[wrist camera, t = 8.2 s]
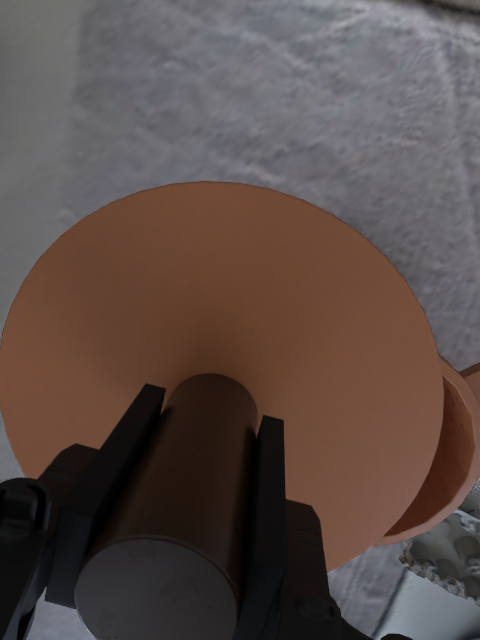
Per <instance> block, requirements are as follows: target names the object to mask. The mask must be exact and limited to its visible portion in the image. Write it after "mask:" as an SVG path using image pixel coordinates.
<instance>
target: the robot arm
mask: <svg viewBox="0 0 480 640" xmlns="http://www.w3.org/2000/svg"><path fill="white" fill-rule="evenodd" d="M165 392H166V388H163V387H159V386H155V385H152V384H148V383H146V384H145V385H144V386H143V388H142V389H141V391H140V392H139V394H138V395H137V396H136V398H135V399H134V401H133V402H132V404H131V405H130V406H129V408H128V409H127V411H126V412H125V414H124V415H123V416H122V418H121V419H120V421H119V422H118V424H117V425H116V426H115V428H114V429H113V431H112V432H111V434H110V435H109V436H108V438H107V439H106V441H105V442H104V444H103V445H102V446H101V448H100V449H96V448H92V447H88V446H85V445H81V444H77V443H75V444H73V445H71V446H69V447H67V448H66V449H64V450H62V451H60V453H59V454H58V455H57V456H56V457H55V458H54V460H53V461H52V462H51V464H49V466H48V467H47V468H46V469H45V470H44V472H43V474H41V475H40V476H39V477H38V479H33V478H14V479H10V480H6V481H4V482H2V483H0V640H26V639H27V636H28V633H29V630H30V628H31V625H32V622H33V619H34V614H35V607H36V603H37V601H38V599H39V598H40V596H41V594H42V593H43V591H44V589H45V588H46V586H47V588H46V594H45V601H47V602H51V603H54V604H58V605H62V606H65V607H69V608H73V609H76V605H75V600H74V586H75V579H76V576H77V572H78V570H79V568H80V566H81V564H82V562H83V560H84V558H85V556H86V554H87V553H88V551H89V549H90V547H91V545H92V543H93V541H94V539H95V538H96V536H97V534H98V532H99V530H100V528H101V526H102V524H103V522H104V521H105V519H106V517H107V515H108V513H109V511H110V509H111V507H112V506H113V504H114V502H115V500H116V498H117V496H118V494H119V492H120V490H121V489H122V487H123V485H124V483H125V481H126V479H127V477H128V475H129V473H130V472H131V470H132V468H133V466H134V464H135V462H136V460H137V458H138V457H139V455H140V453H141V451H142V449H143V447H144V445H145V443H146V441H147V440H148V438H149V436H150V434H151V432H152V430H153V428H154V426H155V424H156V423H157V421H158V419H159V417H160V414H161V410H162V405H163V401H164V396H165ZM231 640H373V639H372V638H370V637H368V636H367V635H365V634H363V633H361V632H360V631H358V630H357V629H355V628H354V627H352V626H351V625H350V624H348V623H347V622H346V621H345V620H344V619H343V618H342V617H341V611H340V609H339V607H338V605H337V603H336V602H335V600H334V599H333V598H332V597H331V596H330V593H329V585H328V577H327V569H326V562H325V554H324V549H323V538H322V530H321V523H320V519H319V517H318V515H317V514H316V512H315V510H314V509H313V507H312V506H311V505H308V504H304V503H300V502H297V501H293V500H289V499H286V489H285V447H284V420H282V419H278V418H275V417H271V416H267V415H263V417H262V421H261V424H260V427H259V431H258V434H257V437H256V446H255V457H254V468H253V480H252V491H251V502H250V514H249V525H248V536H247V547H246V559H245V570H244V581H243V592H242V605H241V616H240V621H239V625H238V628H237V630H236V633H235V635H234V636H233V638H232V639H231ZM381 640H413V639H411V638H409V637H406V636H404V635H401V634H387V635H386V636H384V637H382V638H381Z"/></svg>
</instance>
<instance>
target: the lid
mask: <svg viewBox="0 0 480 640" xmlns="http://www.w3.org/2000/svg"><path fill="white" fill-rule="evenodd" d="M146 383H148V384H152V385H155V386H159V387H163V388H166V392H165V396H164V401H163V405H162V410H161V414H160V417H159V419H158V421H157V423H156V424H155V426H154V428H153V430H152V432H151V434H150V436H149V438H148V440H147V441H146V443H145V445H144V447H143V449H142V451H141V453H140V455H139V457H138V458H137V460H136V462H135V464H134V466H133V468H132V470H131V472H130V473H129V475H128V477H127V479H126V481H125V483H124V485H123V487H122V489H121V490H120V492H119V494H118V496H117V498H116V500H115V502H114V504H113V506H112V507H111V509H110V511H109V513H108V515H107V517H106V519H105V521H104V522H103V524H102V526H101V528H100V530H99V532H98V534H97V536H96V538H95V539H94V541H93V543H92V545H91V547H90V549H89V551H88V553H87V554H86V556H85V558H84V560H83V562H82V564H81V566H80V568H79V570H78V572H77V576H76V579H75V586H74V600H75V605H76V610H77V612H78V615H79V617H80V619H81V621H82V623H83V625H84V626H85V628H86V629H87V631H88V632H89V633H90V635H91V636H92V637H93V638H94V639H95V640H231V639H232V638H233V636H234V635H235V633H236V630H237V628H238V625H239V621H240V616H241V605H242V592H243V581H244V570H245V559H246V547H247V536H248V525H249V514H250V502H251V491H252V480H253V468H254V457H255V446H256V437H257V434H258V431H259V427H260V424H261V421H262V417H263V415H267V416H271V417H275V418H278V419H282V420H284V447H285V489H286V499H289V500H293V501H297V502H300V503H304V504H308V505H311V506H312V507H313V509H314V510H315V512H316V514H317V515H318V517H319V519H320V523H321V530H322V538H323V549H324V554H325V562H326V569H327V572H329V571H331V570H333V569H335V568H337V567H340V566H342V565H343V564H345V563H347V562H348V561H350V560H351V559H353V558H355V557H356V556H358V555H359V554H361V553H363V552H364V551H365V550H366V549H368V548H369V547H370V546H371V545H373V544H374V543H375V542H376V541H378V540H379V539H380V538H381V537H382V536H384V535H385V533H386V532H387V531H388V530H389V529H390V528H391V527H392V526H393V525H394V524H395V523H396V522H397V521H398V520H399V519H400V518H401V516H402V515H403V514H404V512H405V511H406V509H407V508H408V507H409V505H410V504H411V503H412V501H413V500H414V498H415V497H416V495H417V494H418V492H419V490H420V488H421V486H422V484H423V482H424V480H425V478H426V476H427V475H428V473H429V470H430V467H431V464H432V461H433V459H434V456H435V453H436V450H437V447H438V442H439V437H440V432H441V427H442V422H443V405H444V387H443V377H442V367H441V361H440V357H439V353H438V350H437V346H436V342H435V338H434V335H433V332H432V330H431V327H430V325H429V323H428V320H427V318H426V316H425V313H424V311H423V308H422V306H421V305H420V303H419V302H418V300H417V298H416V297H415V295H414V293H413V292H412V290H411V288H410V287H409V285H408V283H407V282H406V280H405V279H404V278H403V277H402V275H401V274H400V273H399V272H398V271H397V269H396V268H395V267H394V266H393V264H392V263H391V262H390V261H389V260H388V258H387V257H386V256H385V255H384V254H383V253H382V252H381V251H380V250H378V249H377V248H376V247H375V246H374V245H373V244H372V243H371V242H370V241H369V240H367V239H366V238H365V237H364V236H363V235H362V234H361V233H359V232H358V231H356V230H355V229H353V228H352V227H351V226H349V225H348V224H346V223H345V222H343V221H342V220H340V219H339V218H337V217H336V216H334V215H333V214H331V213H329V212H327V211H325V210H323V209H321V208H319V207H317V206H315V205H313V204H311V203H309V202H307V201H305V200H302V199H299V198H296V197H293V196H290V195H287V194H285V193H282V192H279V191H276V190H273V189H268V188H263V187H258V186H253V185H247V184H242V183H234V182H214V181H199V182H187V183H176V184H169V185H165V186H160V187H156V188H152V189H147V190H143V191H139V192H137V193H134V194H132V195H129V196H126V197H124V198H121V199H119V200H116V201H113V202H111V203H109V204H107V205H105V206H104V207H102V208H100V209H98V210H97V211H95V212H93V213H91V214H90V215H88V216H86V217H84V218H83V219H82V220H80V221H79V222H78V223H76V224H75V225H74V226H73V227H71V228H70V229H69V230H67V231H66V232H65V233H64V234H62V235H61V236H60V237H59V238H58V239H57V240H56V241H55V242H54V243H53V244H52V245H51V246H50V247H49V248H48V249H47V250H46V252H45V253H44V254H43V255H42V256H41V257H40V258H39V260H38V261H37V262H36V264H35V265H34V267H33V268H32V269H31V271H30V272H29V274H28V275H27V277H26V278H25V279H24V281H23V283H22V285H21V287H20V289H19V291H18V293H17V295H16V297H15V299H14V301H13V303H12V305H11V308H10V311H9V314H8V317H7V320H6V323H5V326H4V329H3V334H2V340H1V345H0V409H1V413H2V418H3V422H4V426H5V430H6V434H7V437H8V439H9V442H10V444H11V447H12V450H13V452H14V455H15V457H16V459H17V461H18V463H19V465H20V467H21V469H22V471H23V472H24V474H25V476H26V478H33V479H38V477H39V476H40V475H41V474H43V472H44V470H45V469H46V468H47V467H48V466H49V464H51V462H52V461H53V460H54V458H55V457H56V456H57V455H58V454H59V453H60V451H62V450H64V449H66V448H67V447H69V446H71V445H73V444H75V443H77V444H81V445H85V446H88V447H92V448H96V449H100V448H101V446H102V445H103V444H104V442H105V441H106V439H107V438H108V436H109V435H110V434H111V432H112V431H113V429H114V428H115V426H116V425H117V424H118V422H119V421H120V419H121V418H122V416H123V415H124V414H125V412H126V411H127V409H128V408H129V406H130V405H131V404H132V402H133V401H134V399H135V398H136V396H137V395H138V394H139V392H140V391H141V389H142V388H143V386H144V385H145V384H146Z"/></svg>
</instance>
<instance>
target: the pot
mask: <svg viewBox="0 0 480 640" xmlns="http://www.w3.org/2000/svg"><path fill="white" fill-rule="evenodd" d="M439 357H440V361H441V367H442V377H443V387H444V405H443V422H442V427H441V432H440V437H439V442H438V447H437V450H436V453H435V456H434V459H433V461H432V464H431V467H430V470H429V473H428V475H427V476H426V478H425V480H424V482H423V484H422V486H421V488H420V490H419V492H418V494H417V495H416V497H415V498H414V500H413V501H412V503H411V504H410V505H409V507H408V508H407V509H406V511H405V512H404V514H403V515H402V516H401V518H400V519H399V520H398V521H397V522H396V523H395V524H394V525H393V526H392V527H391V528H390V529H389V530H388V531H387V532H386V533H385V535H384V536H382V537H381V538H380V539H379V540H378V541H376V542H375V543H374V544H373V545H371V546H379V545H386V544H394V543H398V542H399V543H400V542H402V541H405V540H407V539H410V538H412V537H414V536H417V535H419V534H422V533H424V532H426V531H429V530H431V529H432V528H434V527H435V526H436V525H438V524H439V523H440V522H441V521H443V520H444V519H445V518H446V517H448V516H449V515H450V514H452V513H453V512H454V511H455V510H457V509H458V508H459V507H460V506H461V504H462V503H463V501H464V500H465V498H466V497H467V495H468V494H469V492H470V491H471V489H472V488H473V486H474V485H475V483H476V482H477V480H478V479H479V476H480V362H479V363H477V364H475V365H473V366H471V367H469V368H467V369H465V370H462V371H460V372H458V371H457V370H456V369H455V368H454V367H453V366H452V365H451V364H450V363H449V362H448V361H447V360H445V359H444V358H443V357H442V356H441V355H440V354H439ZM371 546H370V547H371Z"/></svg>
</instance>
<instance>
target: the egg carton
mask: <svg viewBox="0 0 480 640" xmlns="http://www.w3.org/2000/svg"><path fill="white" fill-rule="evenodd" d="M400 543H401V548H402V551H403V553H402V554H401V556H400V557H399V560H400V561H401V562H402V564H403V565H404V566H406V567H407V568H408V570H410V571H411V572H414V573H415V574H416V575H417V576H420V577H422V578H425V577H426V578H428V579H429V580H430V581H431V582H432V583H434V584H435V583H436V584H438V585H439V586H441V587H443V588H444V589H445V590H446V591H448V592H449V593H452V594H454V595H457V596H461V597H463V598H465V599H471V600H473V602H474V603H475V604H476V605H478V606H479V607H480V514H479V513H477V512H476V511H472V512H470V513H465V512H463V511H461V510H460V508H458V509H457V510H455V511H454V512H453V513H452V514H450V515H449V516H448V517H446V518H445V519H444V520H443V521H441V522H440V523H439V524H438V525H436V526H435V527H434V528H432V529H431V530H429V531H426V532H424V533H422V534H419V535H417V536H414V537H412V538H410V539H407V540H405V541H402V542H400Z"/></svg>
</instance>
